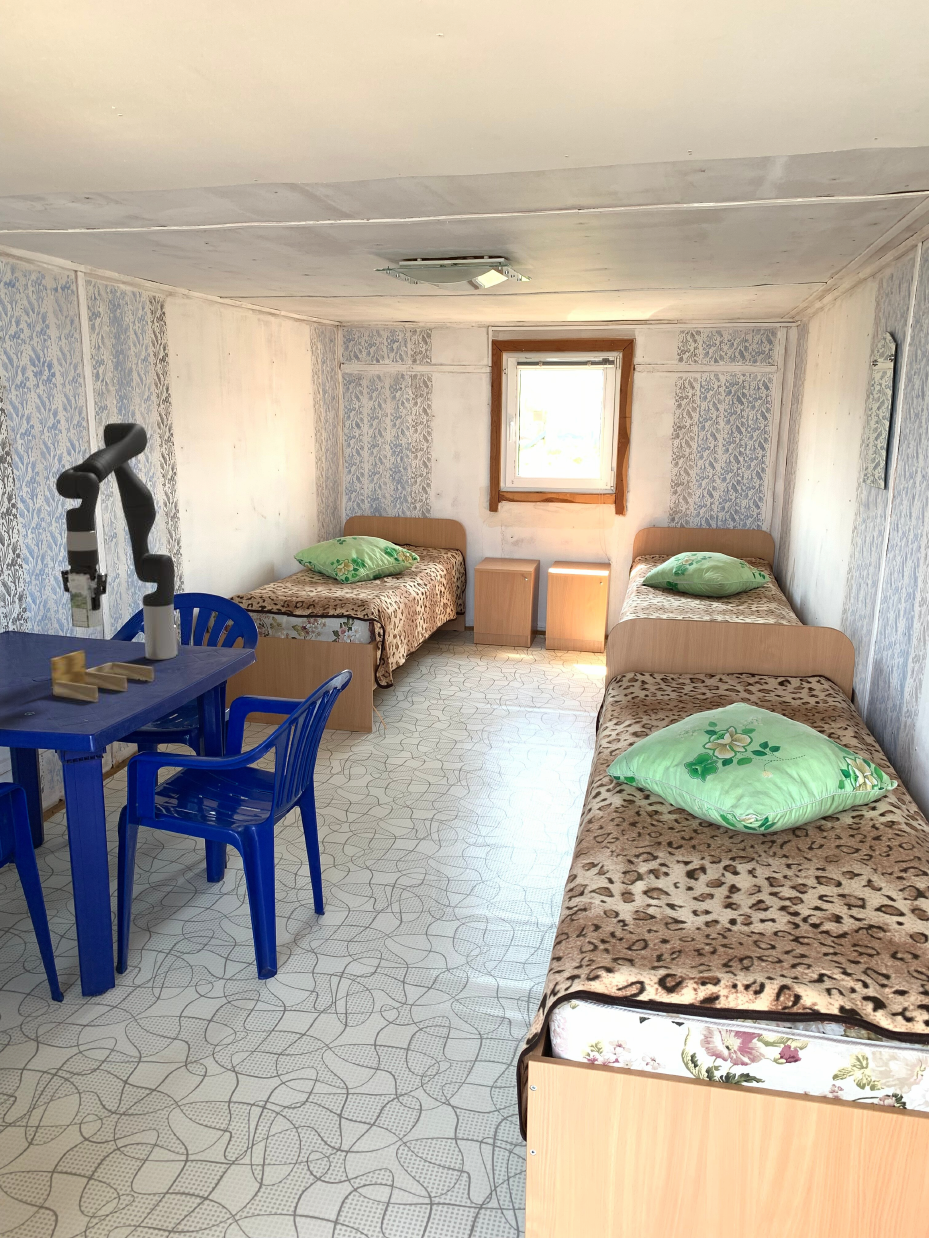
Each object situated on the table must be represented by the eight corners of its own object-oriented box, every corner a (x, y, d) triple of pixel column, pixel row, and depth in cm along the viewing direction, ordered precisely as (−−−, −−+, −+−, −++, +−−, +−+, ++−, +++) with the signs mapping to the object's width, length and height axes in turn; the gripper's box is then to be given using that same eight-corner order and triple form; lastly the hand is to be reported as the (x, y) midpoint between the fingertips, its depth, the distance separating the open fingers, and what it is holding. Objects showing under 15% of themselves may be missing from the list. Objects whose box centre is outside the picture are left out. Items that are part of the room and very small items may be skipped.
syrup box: (103, 624, 243) (100, 572, 240) (89, 628, 238) (85, 575, 235) (85, 622, 245) (82, 570, 242) (71, 627, 239) (67, 573, 236)
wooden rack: (112, 674, 264) (110, 642, 262) (154, 680, 258) (152, 647, 256) (51, 694, 243) (49, 659, 241) (95, 701, 237) (93, 665, 235)
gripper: (113, 547, 238) (117, 609, 241) (72, 544, 243) (76, 604, 246) (92, 551, 231) (97, 614, 235) (50, 547, 236) (55, 609, 240)
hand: (86, 609), depth 240 cm, fingers closed on syrup box, 6 cm apart
